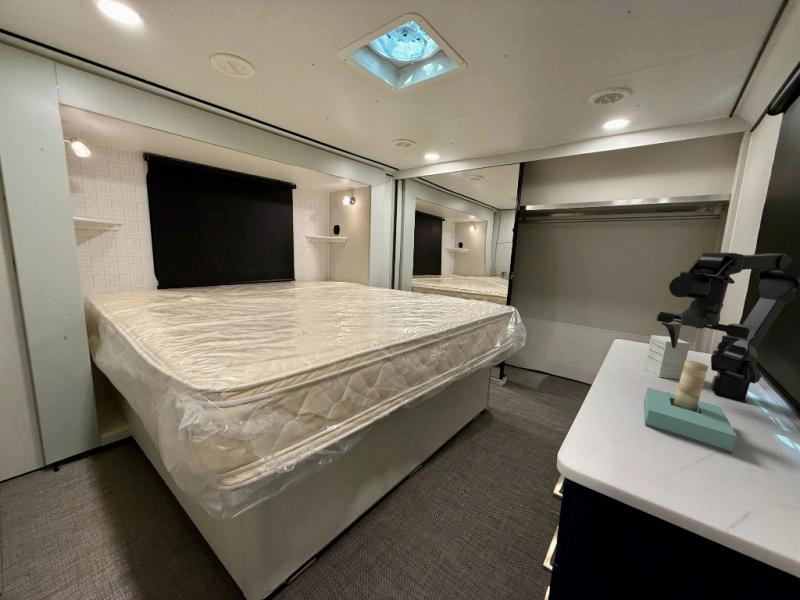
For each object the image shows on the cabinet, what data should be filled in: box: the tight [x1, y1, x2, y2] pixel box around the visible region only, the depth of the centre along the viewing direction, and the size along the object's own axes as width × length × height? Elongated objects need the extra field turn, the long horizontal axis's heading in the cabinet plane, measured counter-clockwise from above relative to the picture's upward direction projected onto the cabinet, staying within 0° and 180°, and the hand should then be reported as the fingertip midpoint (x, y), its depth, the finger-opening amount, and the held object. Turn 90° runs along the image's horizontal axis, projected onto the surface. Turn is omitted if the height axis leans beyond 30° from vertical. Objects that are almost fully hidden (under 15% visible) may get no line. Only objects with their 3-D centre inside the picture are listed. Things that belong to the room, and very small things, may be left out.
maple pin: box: [673, 360, 709, 412], centre depth 73 cm, size 4×4×14 cm
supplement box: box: [643, 334, 691, 380], centre depth 104 cm, size 7×7×13 cm
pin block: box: [643, 387, 738, 454], centre depth 73 cm, size 14×16×4 cm
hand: (694, 353), depth 86 cm, fingers open, 9 cm apart
